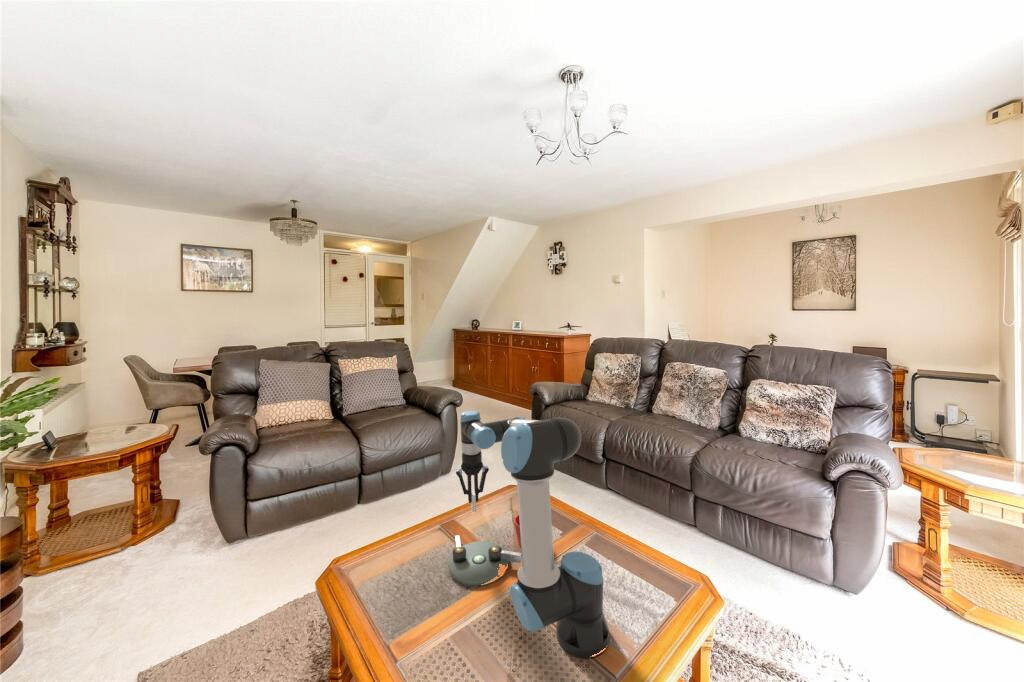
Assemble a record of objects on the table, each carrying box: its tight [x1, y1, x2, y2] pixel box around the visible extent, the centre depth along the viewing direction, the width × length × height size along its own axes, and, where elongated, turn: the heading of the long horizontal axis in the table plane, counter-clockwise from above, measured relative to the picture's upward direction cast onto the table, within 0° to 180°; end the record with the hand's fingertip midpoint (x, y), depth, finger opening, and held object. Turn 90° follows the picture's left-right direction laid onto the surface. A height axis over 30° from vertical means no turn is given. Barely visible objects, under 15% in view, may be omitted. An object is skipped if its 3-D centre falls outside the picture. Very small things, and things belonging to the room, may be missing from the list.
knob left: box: [452, 534, 466, 563], centre depth 148 cm, size 12×5×4 cm, turn 13°
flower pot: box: [513, 514, 521, 547], centre depth 156 cm, size 11×11×10 cm
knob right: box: [488, 546, 522, 564], centre depth 143 cm, size 12×5×4 cm, turn 74°
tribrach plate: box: [448, 540, 510, 587], centre depth 144 cm, size 22×22×2 cm
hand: (473, 509), depth 151 cm, fingers closed
